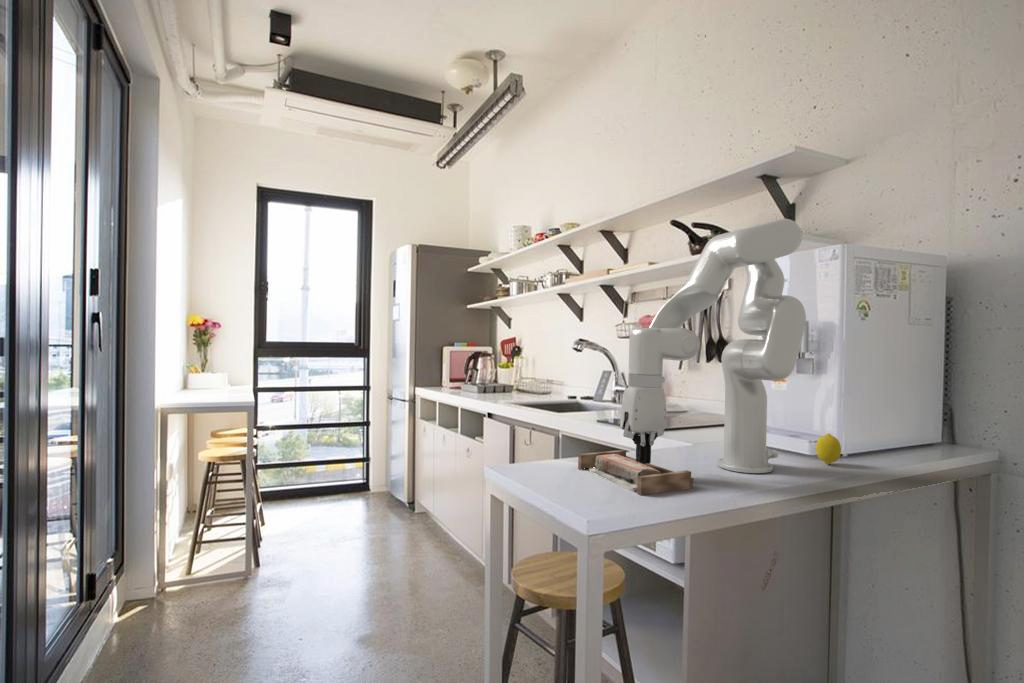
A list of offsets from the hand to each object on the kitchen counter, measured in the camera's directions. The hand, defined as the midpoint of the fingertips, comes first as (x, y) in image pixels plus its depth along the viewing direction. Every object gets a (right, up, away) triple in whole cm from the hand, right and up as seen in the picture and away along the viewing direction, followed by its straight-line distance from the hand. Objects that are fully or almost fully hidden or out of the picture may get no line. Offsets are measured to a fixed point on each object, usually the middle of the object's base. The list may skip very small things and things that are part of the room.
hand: (643, 462), depth 122 cm
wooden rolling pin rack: (-3, -3, -1) cm, 4 cm away
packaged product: (-4, -4, -2) cm, 6 cm away
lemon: (+51, -4, +14) cm, 53 cm away
